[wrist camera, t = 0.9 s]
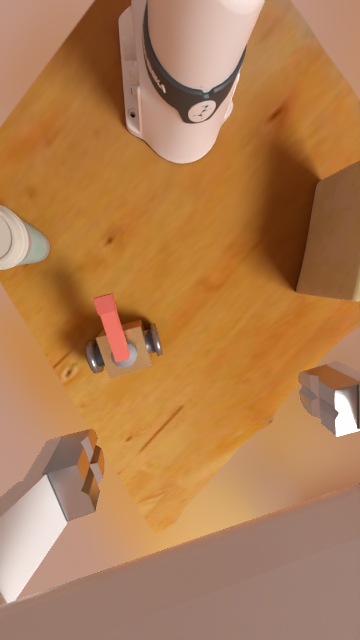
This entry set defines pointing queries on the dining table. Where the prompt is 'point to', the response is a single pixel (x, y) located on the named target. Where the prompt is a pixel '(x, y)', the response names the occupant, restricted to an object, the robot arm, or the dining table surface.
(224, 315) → the dining table surface
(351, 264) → the cheese
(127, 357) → the lever
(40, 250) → the coffee cup
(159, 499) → the dining table surface
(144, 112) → the robot arm
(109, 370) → the valve
